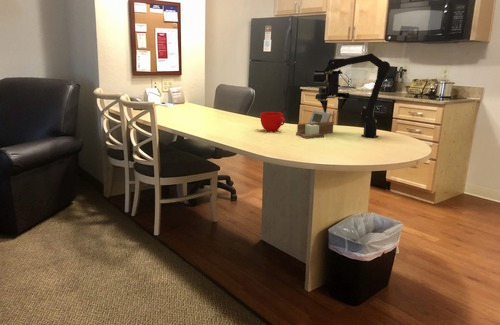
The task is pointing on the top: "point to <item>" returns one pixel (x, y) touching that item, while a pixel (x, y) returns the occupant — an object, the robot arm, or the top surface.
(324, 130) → the wall board
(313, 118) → the digital clock
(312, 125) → the cabinet block
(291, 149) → the top surface
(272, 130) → the ceramic cup
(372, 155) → the top surface
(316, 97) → the robot arm
